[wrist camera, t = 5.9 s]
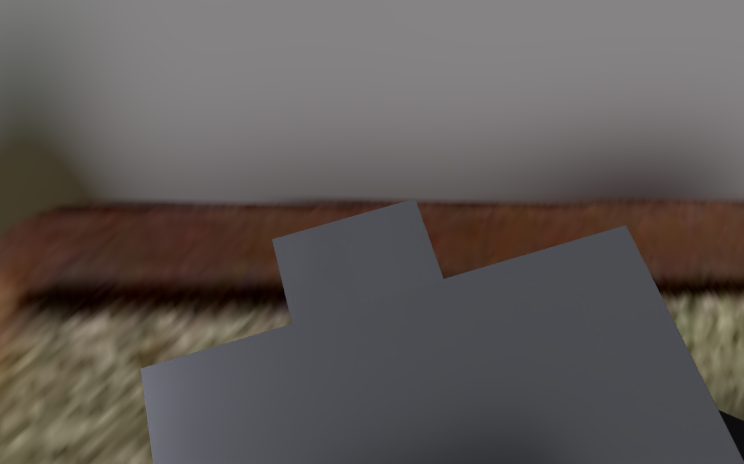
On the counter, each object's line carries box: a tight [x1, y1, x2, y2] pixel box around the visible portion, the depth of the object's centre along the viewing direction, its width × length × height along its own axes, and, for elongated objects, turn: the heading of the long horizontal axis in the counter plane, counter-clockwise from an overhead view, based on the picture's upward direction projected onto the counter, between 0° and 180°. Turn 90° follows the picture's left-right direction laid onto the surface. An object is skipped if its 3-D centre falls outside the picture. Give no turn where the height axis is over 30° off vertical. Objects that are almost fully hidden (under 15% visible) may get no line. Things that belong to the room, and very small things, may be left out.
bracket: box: [141, 199, 744, 464], centre depth 10 cm, size 9×4×11 cm, turn 16°
